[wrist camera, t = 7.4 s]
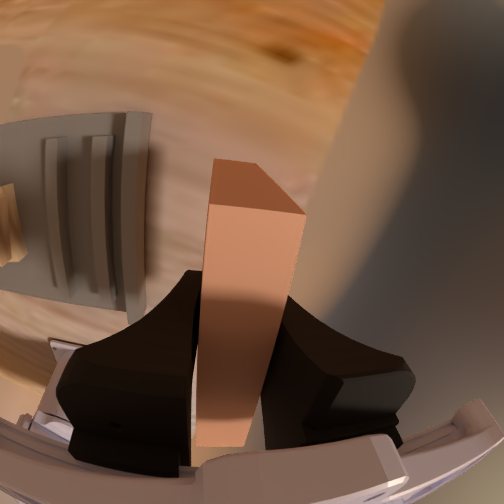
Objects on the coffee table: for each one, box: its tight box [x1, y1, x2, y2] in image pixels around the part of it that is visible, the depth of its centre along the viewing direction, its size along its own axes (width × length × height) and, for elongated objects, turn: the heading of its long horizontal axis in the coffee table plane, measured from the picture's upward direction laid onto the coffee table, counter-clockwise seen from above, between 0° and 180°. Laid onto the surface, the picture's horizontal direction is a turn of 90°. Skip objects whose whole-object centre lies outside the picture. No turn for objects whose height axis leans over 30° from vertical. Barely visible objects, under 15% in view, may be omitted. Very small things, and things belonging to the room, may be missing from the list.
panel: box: [196, 159, 307, 447], centre depth 11 cm, size 10×2×8 cm, turn 171°
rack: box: [0, 112, 152, 325], centre depth 16 cm, size 15×17×2 cm
